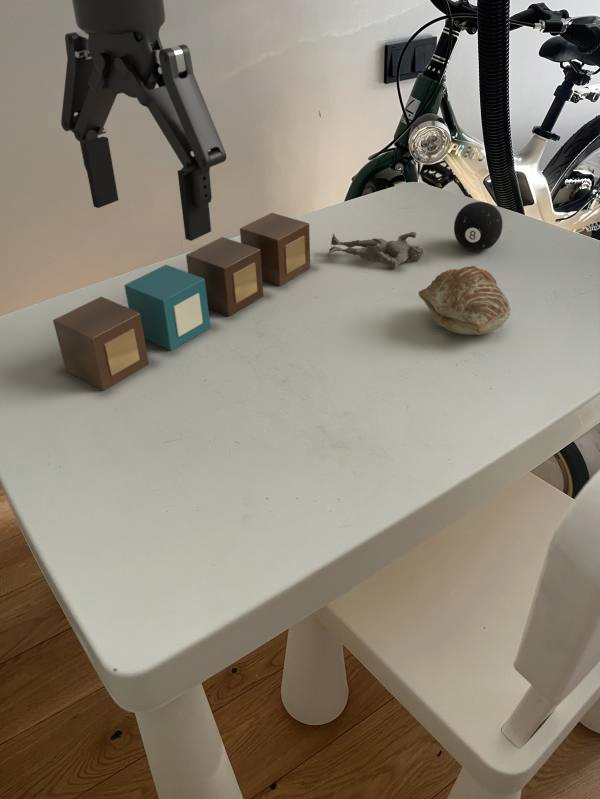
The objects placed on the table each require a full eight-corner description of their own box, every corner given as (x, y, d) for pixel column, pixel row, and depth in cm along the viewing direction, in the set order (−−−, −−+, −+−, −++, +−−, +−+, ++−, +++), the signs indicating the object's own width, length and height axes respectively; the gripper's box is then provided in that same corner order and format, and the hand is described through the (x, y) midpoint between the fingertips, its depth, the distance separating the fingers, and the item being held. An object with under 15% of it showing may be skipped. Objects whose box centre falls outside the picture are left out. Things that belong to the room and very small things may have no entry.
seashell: (464, 361, 75) (518, 331, 79) (469, 303, 71) (527, 274, 74) (403, 321, 81) (456, 295, 85) (405, 266, 77) (460, 240, 80)
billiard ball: (503, 242, 97) (509, 198, 93) (493, 261, 92) (499, 215, 89) (458, 236, 99) (462, 192, 95) (446, 254, 95) (451, 209, 91)
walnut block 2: (191, 301, 86) (185, 254, 83) (226, 282, 90) (222, 236, 86) (230, 317, 83) (225, 268, 80) (264, 296, 87) (261, 249, 83)
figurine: (330, 221, 95) (424, 218, 92) (334, 244, 98) (425, 242, 95) (324, 254, 91) (421, 251, 89) (328, 277, 94) (423, 275, 92)
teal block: (133, 334, 81) (123, 284, 77) (173, 312, 84) (166, 264, 81) (172, 351, 77) (164, 301, 74) (211, 327, 81) (206, 278, 78)
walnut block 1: (65, 371, 75) (52, 319, 72) (111, 345, 79) (101, 296, 75) (104, 391, 72) (92, 339, 68) (150, 364, 76) (141, 313, 72)
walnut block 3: (243, 273, 92) (239, 228, 88) (274, 256, 96) (271, 212, 92) (281, 286, 89) (278, 240, 85) (311, 268, 92) (310, 223, 89)
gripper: (257, -20, 57) (269, 236, 69) (59, -38, 70) (99, 181, 82) (187, -8, 52) (214, 265, 65) (-11, -30, 65) (43, 202, 78)
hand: (150, 219), depth 74 cm, fingers open, 13 cm apart
